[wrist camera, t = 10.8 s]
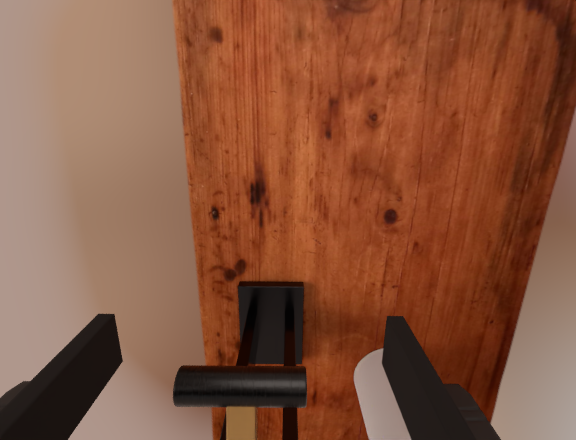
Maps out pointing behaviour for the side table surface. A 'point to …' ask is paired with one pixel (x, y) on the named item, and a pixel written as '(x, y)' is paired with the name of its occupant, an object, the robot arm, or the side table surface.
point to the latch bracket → (271, 332)
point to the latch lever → (241, 392)
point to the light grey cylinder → (378, 400)
